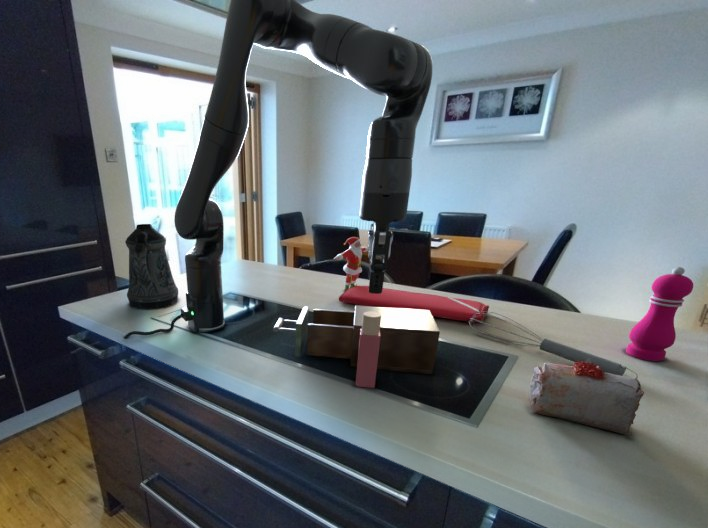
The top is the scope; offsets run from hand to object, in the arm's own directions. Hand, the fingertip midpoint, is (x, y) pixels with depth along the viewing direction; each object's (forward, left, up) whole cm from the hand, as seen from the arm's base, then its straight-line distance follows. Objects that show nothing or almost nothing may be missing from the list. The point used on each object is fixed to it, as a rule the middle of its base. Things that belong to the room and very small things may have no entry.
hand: (374, 286), depth 70 cm
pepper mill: (+64, -19, -20) cm, 70 cm away
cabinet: (+13, +7, -20) cm, 25 cm away
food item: (+24, -25, -20) cm, 40 cm away
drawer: (+1, +17, -19) cm, 26 cm away
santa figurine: (+41, +55, -20) cm, 72 cm away
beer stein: (-25, +74, -20) cm, 81 cm away
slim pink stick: (0, 0, -20) cm, 20 cm away
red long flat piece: (+44, +31, -20) cm, 58 cm away
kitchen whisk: (+45, -7, -20) cm, 50 cm away
